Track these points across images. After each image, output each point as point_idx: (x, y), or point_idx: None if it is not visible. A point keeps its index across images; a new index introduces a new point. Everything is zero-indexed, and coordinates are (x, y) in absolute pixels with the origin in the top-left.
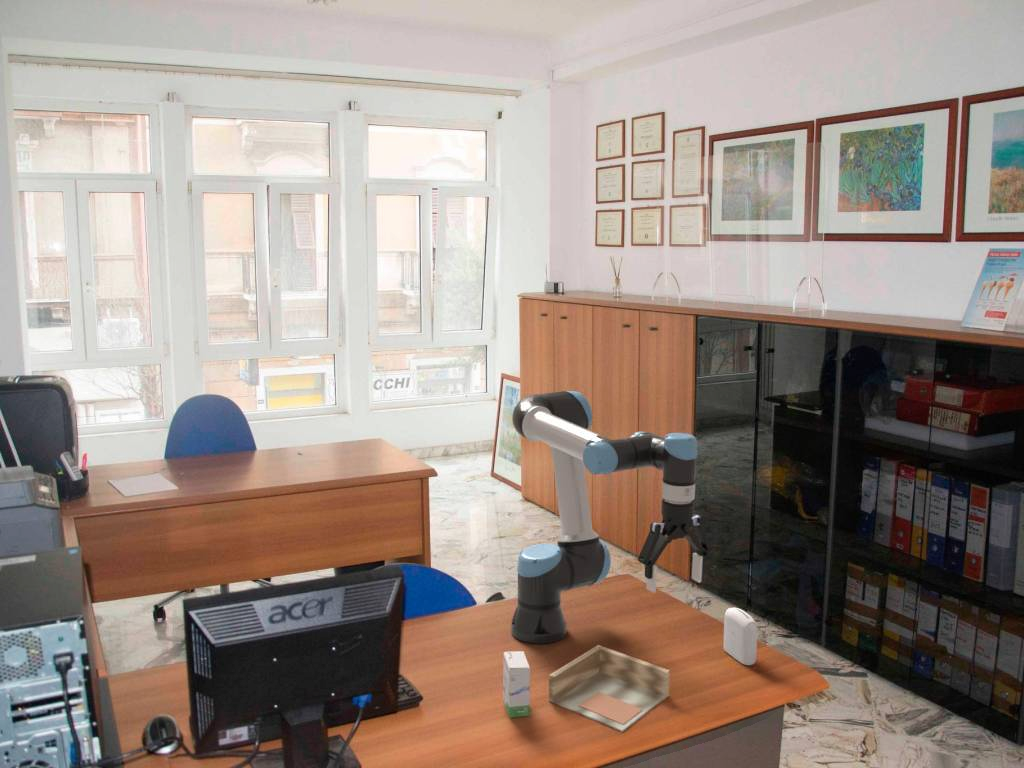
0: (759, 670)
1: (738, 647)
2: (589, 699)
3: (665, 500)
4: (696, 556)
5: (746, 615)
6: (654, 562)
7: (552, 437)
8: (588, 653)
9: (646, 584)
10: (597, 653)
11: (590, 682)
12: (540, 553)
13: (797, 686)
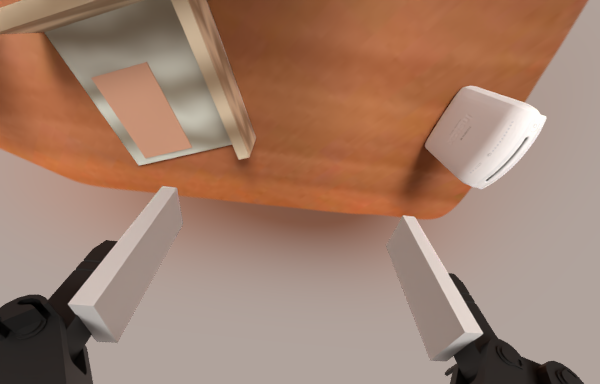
0: (423, 165)
1: (441, 142)
2: (118, 74)
3: None
4: (441, 338)
5: (497, 173)
6: (81, 367)
7: None
8: None
9: (152, 198)
10: None
11: (146, 17)
12: None
13: (411, 213)
